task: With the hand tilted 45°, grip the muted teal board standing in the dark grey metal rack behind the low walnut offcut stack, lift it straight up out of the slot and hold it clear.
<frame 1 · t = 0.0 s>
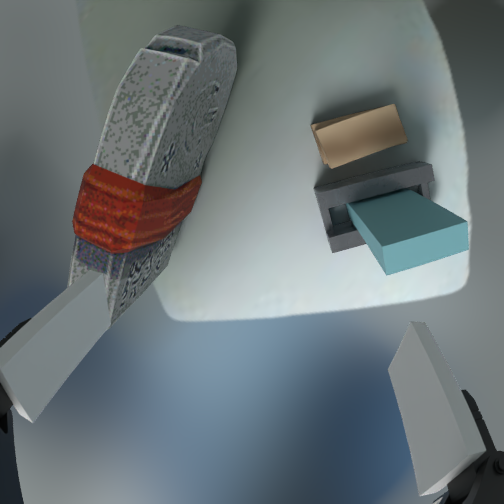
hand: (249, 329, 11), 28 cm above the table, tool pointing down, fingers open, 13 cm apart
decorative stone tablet: (188, 159, 37), on the table
teal board: (375, 200, 36), resting in board rack
offcut stack: (357, 133, 33), on the table
board rack: (375, 201, 36), on the table
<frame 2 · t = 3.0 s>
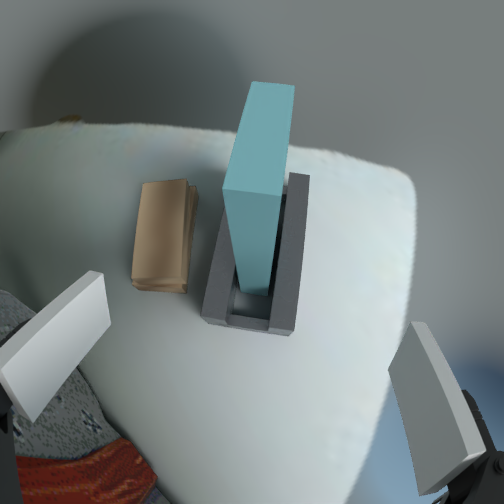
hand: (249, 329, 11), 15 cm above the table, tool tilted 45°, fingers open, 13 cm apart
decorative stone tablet: (104, 437, 22), on the table
teal board: (260, 255, 29), resting in board rack
offcut stack: (169, 241, 30), on the table
board rack: (260, 255, 29), on the table
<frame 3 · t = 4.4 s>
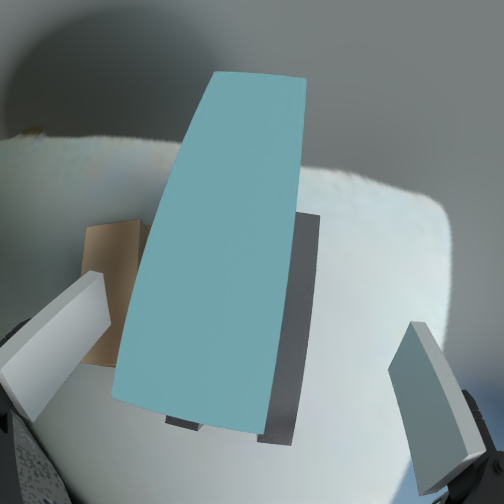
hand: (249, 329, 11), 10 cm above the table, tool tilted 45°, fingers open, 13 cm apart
teal board: (249, 326, 21), resting in board rack
offcut stack: (129, 300, 22), on the table
board rack: (249, 325, 21), on the table
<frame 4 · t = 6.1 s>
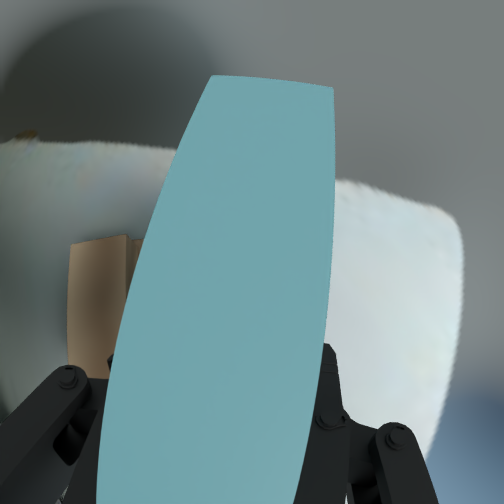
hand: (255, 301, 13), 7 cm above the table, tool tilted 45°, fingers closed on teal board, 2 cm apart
teal board: (251, 350, 19), resting in board rack, touching gripper
offcut stack: (120, 319, 21), on the table
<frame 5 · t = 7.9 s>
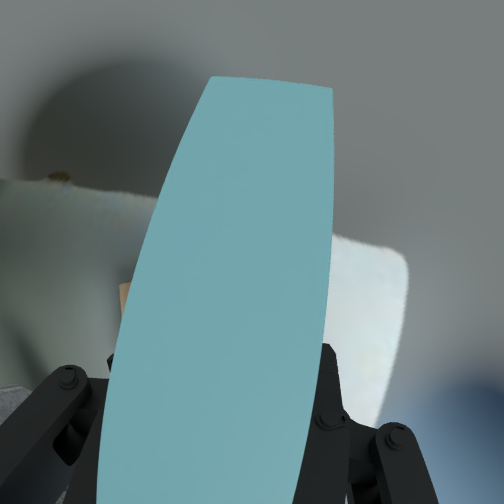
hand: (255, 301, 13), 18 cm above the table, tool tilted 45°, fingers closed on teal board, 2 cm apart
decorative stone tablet: (115, 493, 23), on the table
teal board: (251, 350, 19), point 11 cm above the table, touching gripper
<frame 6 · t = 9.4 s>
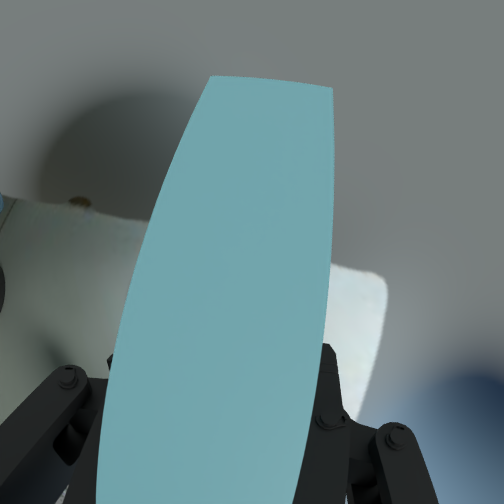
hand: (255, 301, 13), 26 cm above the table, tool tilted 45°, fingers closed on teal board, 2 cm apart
teal board: (251, 350, 19), point 19 cm above the table, touching gripper
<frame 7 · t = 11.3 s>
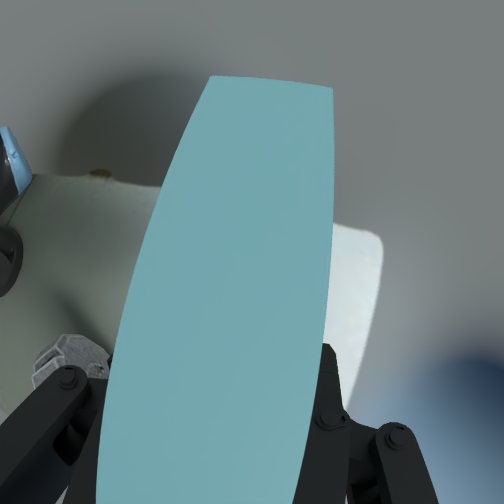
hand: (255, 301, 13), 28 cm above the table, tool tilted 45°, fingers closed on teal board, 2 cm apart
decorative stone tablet: (152, 431, 35), on the table
teal board: (251, 350, 19), point 21 cm above the table, touching gripper
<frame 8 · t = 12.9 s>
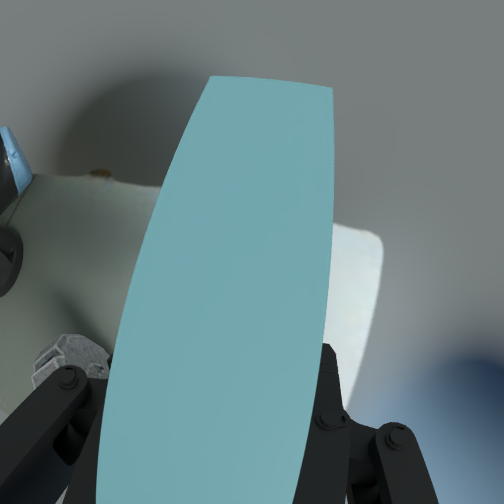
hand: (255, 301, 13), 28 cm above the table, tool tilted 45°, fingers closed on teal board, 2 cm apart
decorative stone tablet: (152, 431, 35), on the table
teal board: (251, 350, 19), point 21 cm above the table, touching gripper
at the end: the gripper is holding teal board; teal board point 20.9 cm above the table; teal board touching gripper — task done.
